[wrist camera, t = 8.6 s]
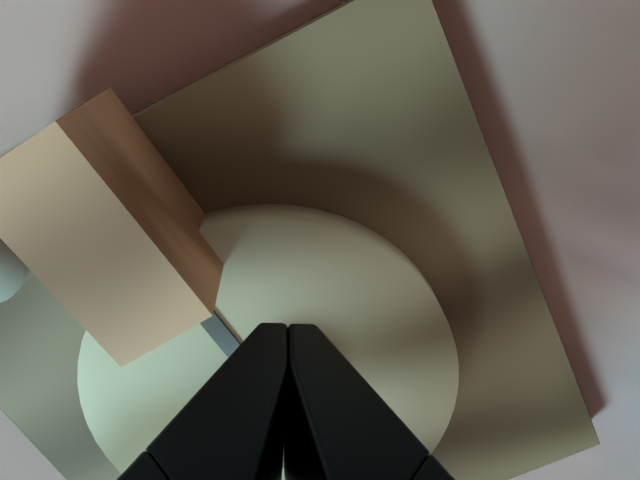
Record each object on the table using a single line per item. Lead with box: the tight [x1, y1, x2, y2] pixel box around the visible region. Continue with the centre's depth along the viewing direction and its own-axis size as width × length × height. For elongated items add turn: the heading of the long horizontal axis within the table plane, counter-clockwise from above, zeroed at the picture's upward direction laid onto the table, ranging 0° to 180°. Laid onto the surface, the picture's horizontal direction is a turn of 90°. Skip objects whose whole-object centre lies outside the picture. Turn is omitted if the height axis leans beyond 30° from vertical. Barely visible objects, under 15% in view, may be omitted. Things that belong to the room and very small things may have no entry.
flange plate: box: [0, 87, 459, 480], centre depth 19 cm, size 18×13×4 cm
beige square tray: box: [0, 0, 600, 480], centre depth 20 cm, size 20×20×6 cm
